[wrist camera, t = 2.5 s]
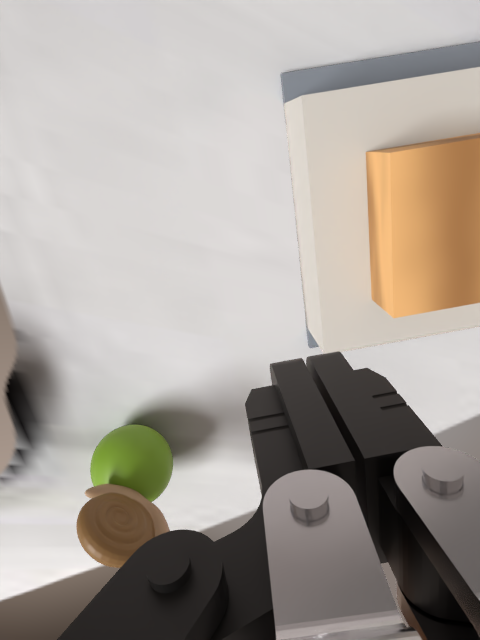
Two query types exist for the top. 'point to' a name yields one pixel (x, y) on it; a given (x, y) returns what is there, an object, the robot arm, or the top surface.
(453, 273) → the orange flat block
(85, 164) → the top surface
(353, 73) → the mat
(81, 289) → the top surface
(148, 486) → the green maraca
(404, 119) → the white rectangular block
